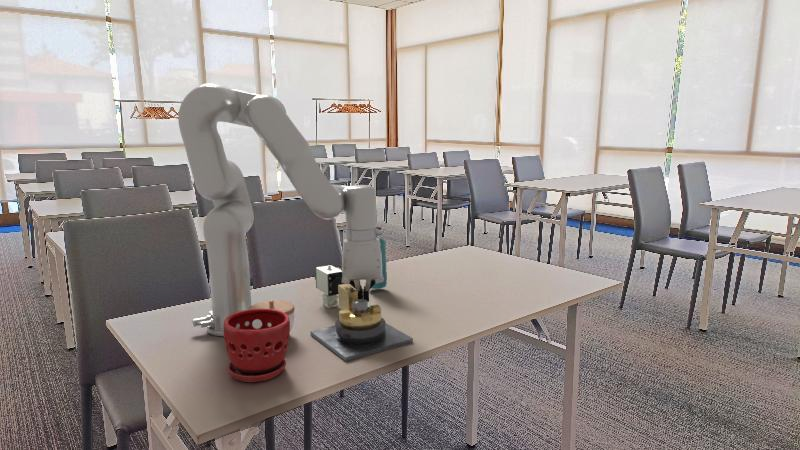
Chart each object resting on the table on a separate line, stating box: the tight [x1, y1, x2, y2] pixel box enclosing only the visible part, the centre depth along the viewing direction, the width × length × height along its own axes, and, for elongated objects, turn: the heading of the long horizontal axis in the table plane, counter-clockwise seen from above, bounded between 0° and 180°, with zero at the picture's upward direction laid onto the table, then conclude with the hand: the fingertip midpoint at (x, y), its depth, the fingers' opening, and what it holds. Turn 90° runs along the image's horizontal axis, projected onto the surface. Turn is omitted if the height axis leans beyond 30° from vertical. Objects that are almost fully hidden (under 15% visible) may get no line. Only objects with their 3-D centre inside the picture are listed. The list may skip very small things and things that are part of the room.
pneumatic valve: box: [314, 264, 344, 310], centre depth 147 cm, size 6×12×12 cm, turn 32°
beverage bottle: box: [370, 226, 388, 290], centre depth 160 cm, size 6×7×20 cm
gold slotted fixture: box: [337, 284, 382, 330], centre depth 127 cm, size 17×10×6 cm, turn 26°
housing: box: [310, 317, 414, 362], centre depth 125 cm, size 18×18×4 cm
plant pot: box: [223, 309, 291, 383], centre depth 107 cm, size 13×13×12 cm
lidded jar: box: [249, 299, 295, 332], centre depth 126 cm, size 11×11×9 cm
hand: (363, 304), depth 134 cm, fingers closed
